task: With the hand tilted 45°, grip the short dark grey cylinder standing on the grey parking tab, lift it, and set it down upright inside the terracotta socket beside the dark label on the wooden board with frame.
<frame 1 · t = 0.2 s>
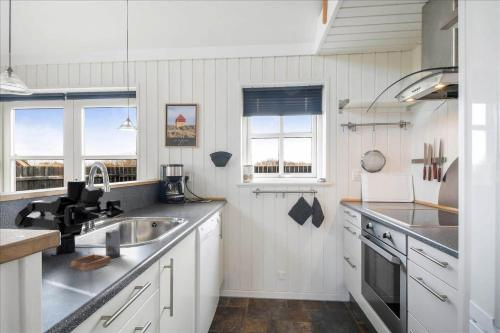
hand: (111, 214, 87), 16 cm above the table, tool horizontal, fingers open, 9 cm apart
dark grey cylinder: (113, 256, 91), point 1 cm above the table, touching wooden board with frame
wooden board with frame: (100, 263, 86), on the table
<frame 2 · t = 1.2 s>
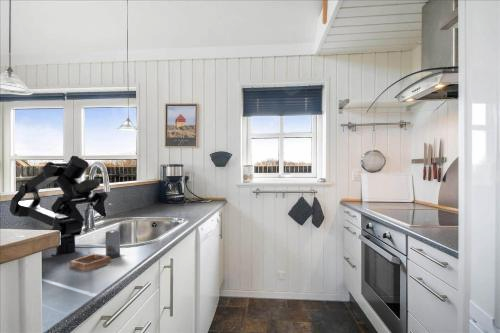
hand: (94, 218, 93), 14 cm above the table, tool tilted 45°, fingers open, 9 cm apart
nothing on the table moved.
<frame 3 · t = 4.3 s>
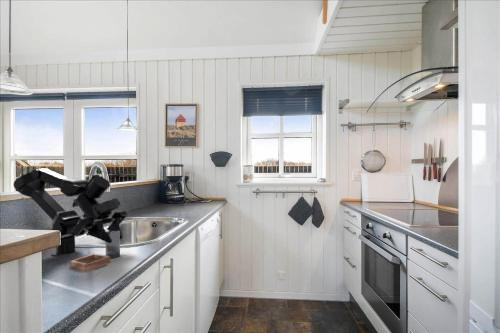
hand: (116, 240, 90), 7 cm above the table, tool tilted 45°, fingers closed on dark grey cylinder, 4 cm apart
dark grey cylinder: (113, 256, 91), point 1 cm above the table, touching gripper, wooden board with frame
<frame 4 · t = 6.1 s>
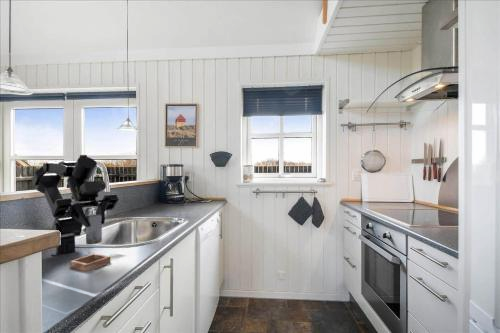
hand: (96, 224, 84), 13 cm above the table, tool tilted 45°, fingers closed on dark grey cylinder, 4 cm apart
dark grey cylinder: (94, 242, 84), point 8 cm above the table, touching gripper
when the fingers open (7 cm above the table, at t = 8.1 s): dark grey cylinder stays where it is, resting on wooden board with frame.
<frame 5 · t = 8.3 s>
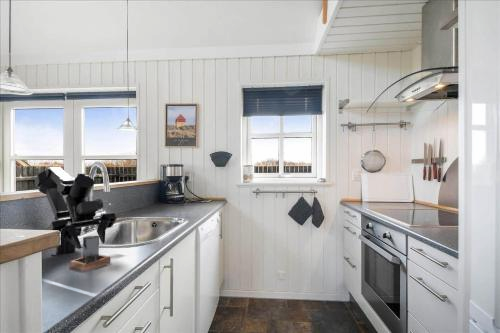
hand: (92, 245, 83), 7 cm above the table, tool tilted 45°, fingers open, 7 cm apart
dark grey cylinder: (90, 264, 83), point 1 cm above the table, touching wooden board with frame
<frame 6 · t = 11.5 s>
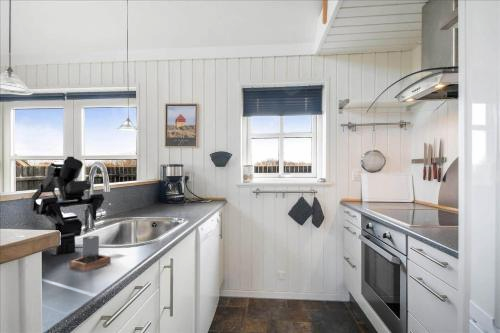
hand: (80, 222, 88), 13 cm above the table, tool tilted 45°, fingers open, 9 cm apart
nothing on the table moved.
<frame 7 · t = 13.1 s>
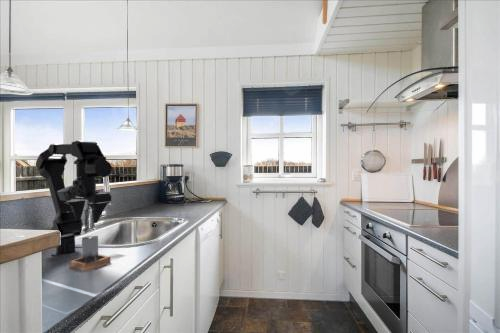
hand: (86, 221, 90), 13 cm above the table, tool pointing down, fingers open, 9 cm apart
nothing on the table moved.
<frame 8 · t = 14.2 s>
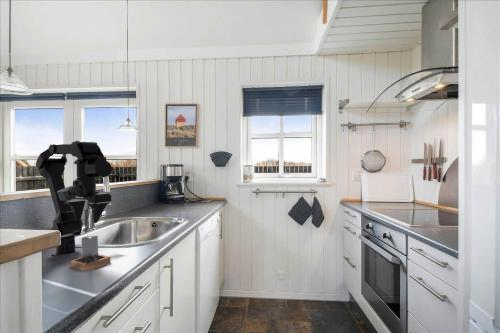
hand: (86, 222, 90), 13 cm above the table, tool pointing down, fingers open, 9 cm apart
nothing on the table moved.
at the end: wooden board with frame 0.1 cm from the target spot, on the table; dark grey cylinder 0.0 cm from the target spot on the wooden board with frame, point 0.7 cm above the wooden board with frame's base; dark grey cylinder tilted 2° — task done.
